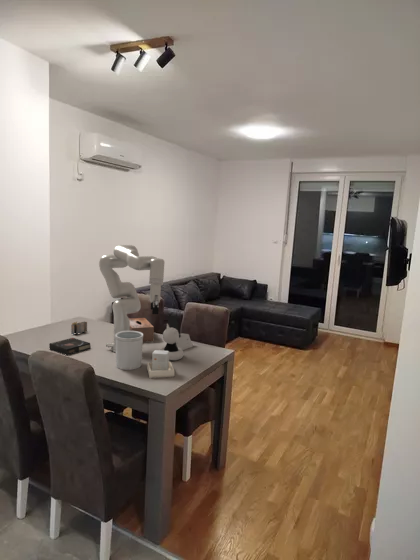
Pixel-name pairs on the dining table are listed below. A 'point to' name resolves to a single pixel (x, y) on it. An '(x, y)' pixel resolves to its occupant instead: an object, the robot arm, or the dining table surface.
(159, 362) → the small box
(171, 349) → the decorative figurine
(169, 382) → the dining table surface
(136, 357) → the utensil holder
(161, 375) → the tray
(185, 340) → the white and black block
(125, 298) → the robot arm
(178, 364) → the dining table surface
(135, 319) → the tissue box cover
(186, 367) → the dining table surface
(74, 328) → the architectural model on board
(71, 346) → the flat black printed box
